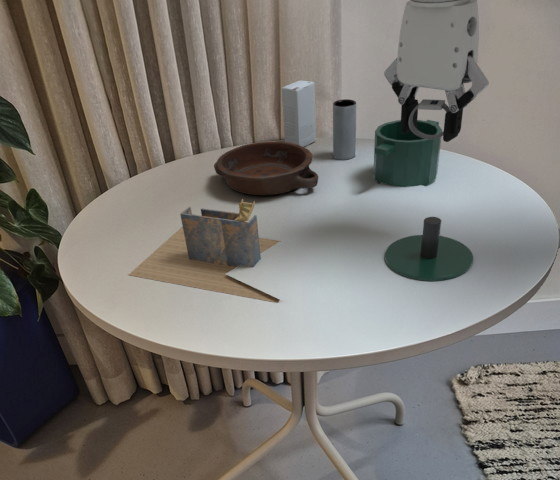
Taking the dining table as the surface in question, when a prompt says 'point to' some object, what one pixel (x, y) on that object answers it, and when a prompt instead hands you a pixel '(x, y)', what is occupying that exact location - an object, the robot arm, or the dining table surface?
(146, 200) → the dining table surface
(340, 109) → the grey cylinder
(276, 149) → the dish
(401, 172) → the pot
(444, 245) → the lid
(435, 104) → the wristwatch
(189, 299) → the dining table surface
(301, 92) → the cosmetic box
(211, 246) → the ruin model on sheet
